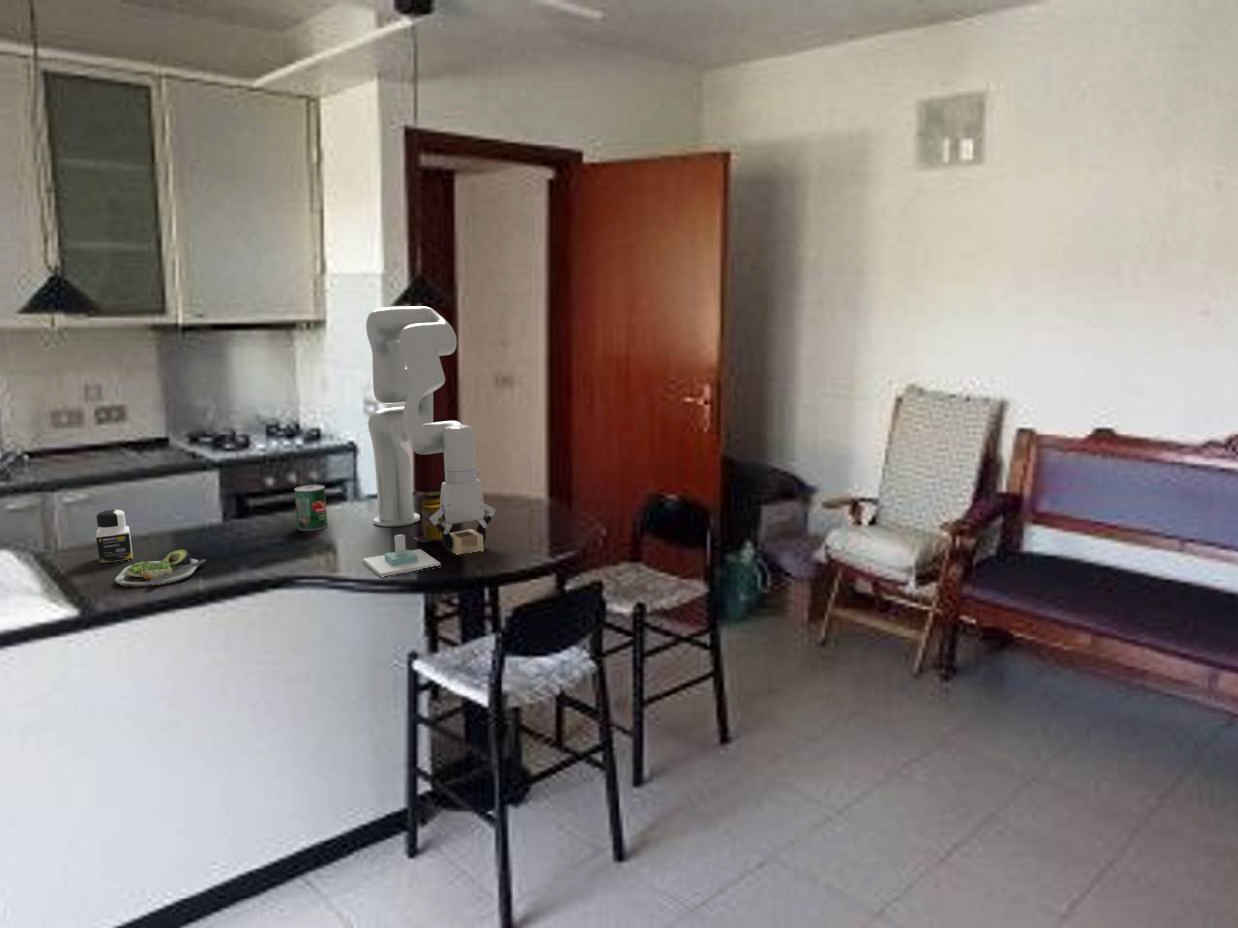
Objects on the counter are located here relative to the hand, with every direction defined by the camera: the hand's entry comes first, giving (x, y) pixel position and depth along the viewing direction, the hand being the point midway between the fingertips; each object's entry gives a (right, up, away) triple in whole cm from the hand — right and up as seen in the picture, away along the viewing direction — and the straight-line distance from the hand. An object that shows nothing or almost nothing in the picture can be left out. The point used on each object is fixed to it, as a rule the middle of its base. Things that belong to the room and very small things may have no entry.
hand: (464, 545), depth 231 cm
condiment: (-10, 0, +11) cm, 15 cm away
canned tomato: (-46, +3, +26) cm, 53 cm away
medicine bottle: (-86, -3, 0) cm, 86 cm away
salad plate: (-68, -6, -14) cm, 70 cm away
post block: (-13, -4, -11) cm, 17 cm away
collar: (0, -1, 0) cm, 1 cm away
